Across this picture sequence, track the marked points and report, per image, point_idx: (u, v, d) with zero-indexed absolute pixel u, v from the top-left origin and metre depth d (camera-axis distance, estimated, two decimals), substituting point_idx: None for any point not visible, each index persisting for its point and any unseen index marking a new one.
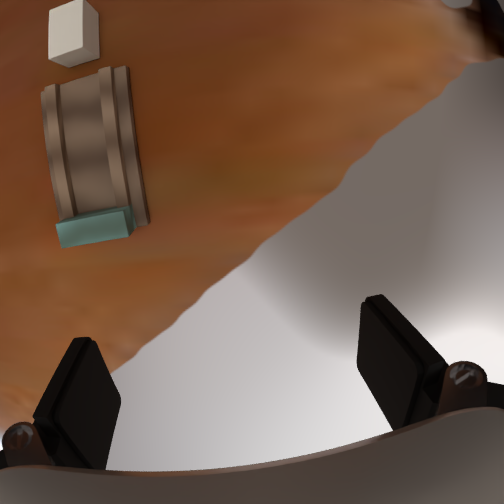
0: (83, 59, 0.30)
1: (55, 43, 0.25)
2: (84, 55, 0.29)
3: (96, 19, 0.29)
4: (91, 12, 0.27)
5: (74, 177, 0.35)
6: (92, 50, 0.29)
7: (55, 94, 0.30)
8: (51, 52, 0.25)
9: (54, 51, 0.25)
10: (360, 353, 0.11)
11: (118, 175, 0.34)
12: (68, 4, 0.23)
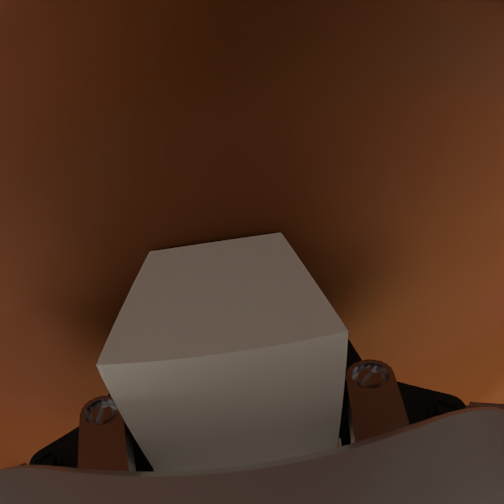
0: None
1: None
2: None
3: None
4: None
5: None
6: None
7: None
8: None
9: None
10: None
11: None
12: (243, 363, 0.05)
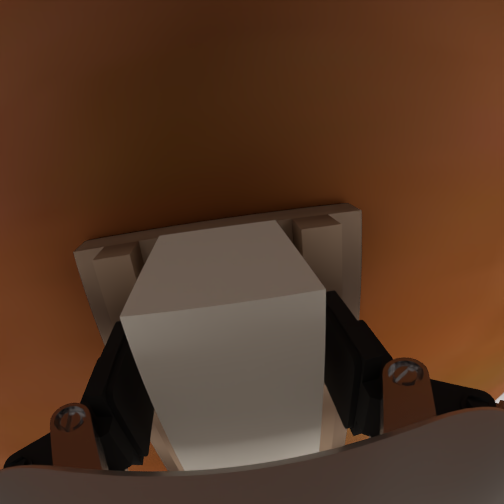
0: None
1: (207, 453, 0.08)
2: None
3: None
4: None
5: None
6: None
7: None
8: None
9: None
10: None
11: (322, 449, 0.16)
12: (240, 313, 0.07)
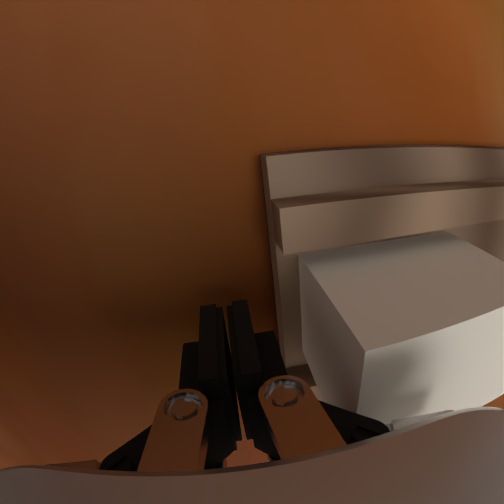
0: None
1: (486, 389, 0.08)
2: None
3: (340, 256, 0.11)
4: (353, 281, 0.09)
5: None
6: (480, 253, 0.10)
7: None
8: (501, 389, 0.08)
9: (503, 382, 0.08)
10: None
11: None
12: (367, 405, 0.07)
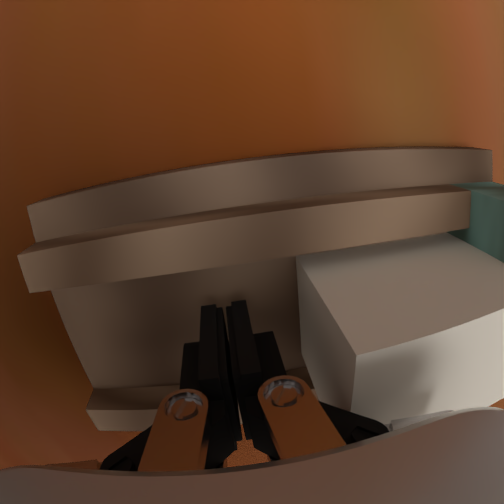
0: None
1: (486, 393, 0.08)
2: None
3: (337, 259, 0.11)
4: (348, 284, 0.09)
5: None
6: (479, 255, 0.10)
7: (113, 409, 0.12)
8: (501, 392, 0.08)
9: (503, 385, 0.08)
10: None
11: (393, 214, 0.10)
12: (360, 409, 0.07)
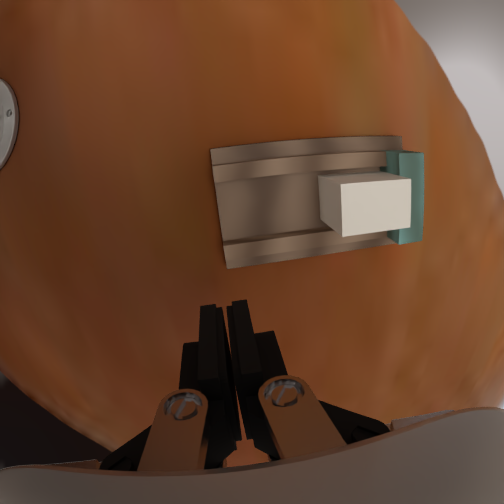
0: None
1: (394, 219, 0.27)
2: None
3: (333, 175, 0.30)
4: (337, 178, 0.28)
5: None
6: (389, 174, 0.29)
7: (239, 243, 0.31)
8: (404, 223, 0.27)
9: (404, 219, 0.27)
10: None
11: (353, 158, 0.29)
12: (344, 206, 0.26)
